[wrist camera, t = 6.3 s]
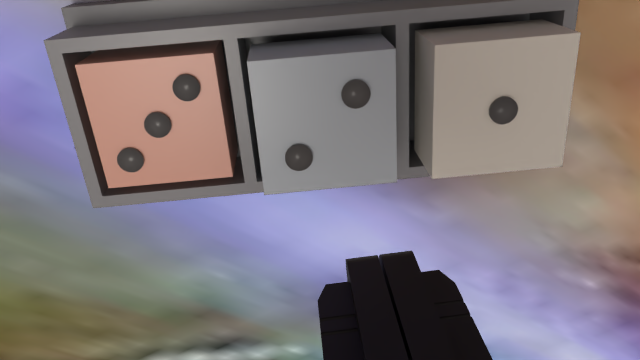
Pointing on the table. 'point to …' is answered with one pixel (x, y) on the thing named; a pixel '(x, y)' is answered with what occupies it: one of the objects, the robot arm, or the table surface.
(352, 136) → the slate tile
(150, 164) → the coral tile
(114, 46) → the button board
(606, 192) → the table surface
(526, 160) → the ivory tile
